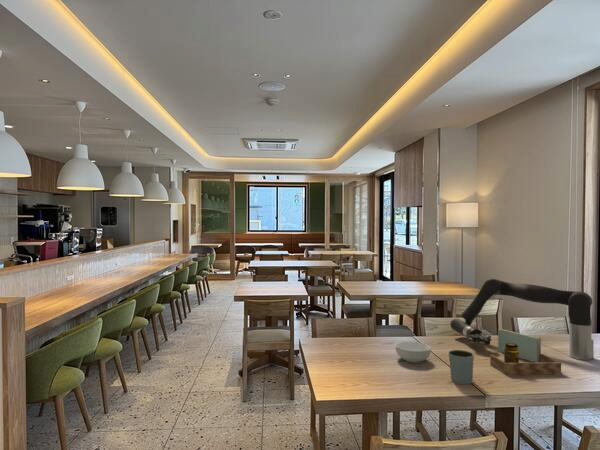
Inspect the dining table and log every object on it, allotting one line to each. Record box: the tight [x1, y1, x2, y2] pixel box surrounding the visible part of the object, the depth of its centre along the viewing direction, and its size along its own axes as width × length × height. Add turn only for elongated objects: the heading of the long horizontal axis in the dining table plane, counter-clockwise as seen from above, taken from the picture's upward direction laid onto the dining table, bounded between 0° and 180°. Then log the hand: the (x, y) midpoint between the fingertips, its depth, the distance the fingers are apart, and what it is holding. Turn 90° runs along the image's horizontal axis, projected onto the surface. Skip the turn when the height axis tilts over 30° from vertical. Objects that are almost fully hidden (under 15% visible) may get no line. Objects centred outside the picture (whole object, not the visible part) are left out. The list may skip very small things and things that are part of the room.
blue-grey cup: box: [448, 349, 475, 386], centre depth 174 cm, size 10×10×12 cm
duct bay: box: [489, 353, 562, 376], centre depth 188 cm, size 26×13×5 cm, turn 92°
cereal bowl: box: [395, 341, 432, 364], centre depth 201 cm, size 17×17×7 cm
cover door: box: [497, 328, 542, 363], centre depth 205 cm, size 22×1×13 cm, turn 27°
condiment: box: [503, 343, 520, 363], centre depth 188 cm, size 7×8×12 cm
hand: (488, 342), depth 209 cm, fingers closed
